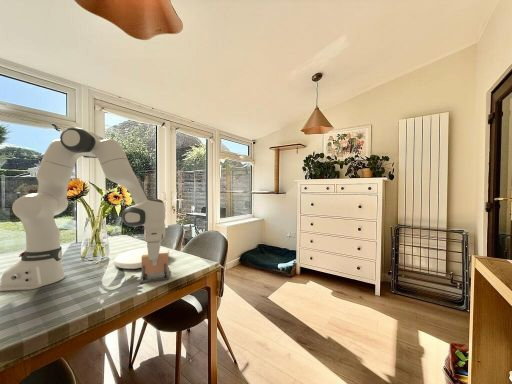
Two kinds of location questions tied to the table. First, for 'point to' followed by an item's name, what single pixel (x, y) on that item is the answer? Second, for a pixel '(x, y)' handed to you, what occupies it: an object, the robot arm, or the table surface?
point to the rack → (154, 276)
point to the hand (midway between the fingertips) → (155, 263)
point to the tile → (159, 267)
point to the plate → (133, 258)
